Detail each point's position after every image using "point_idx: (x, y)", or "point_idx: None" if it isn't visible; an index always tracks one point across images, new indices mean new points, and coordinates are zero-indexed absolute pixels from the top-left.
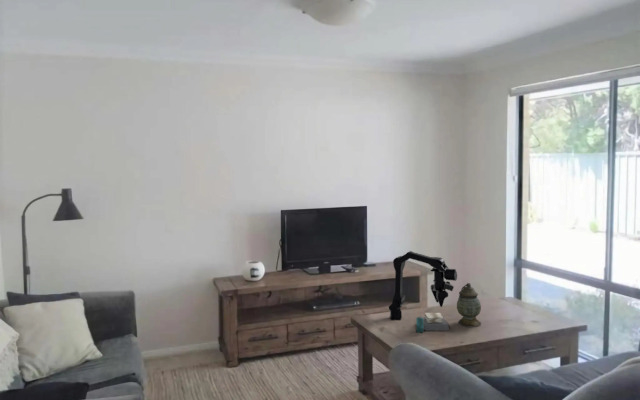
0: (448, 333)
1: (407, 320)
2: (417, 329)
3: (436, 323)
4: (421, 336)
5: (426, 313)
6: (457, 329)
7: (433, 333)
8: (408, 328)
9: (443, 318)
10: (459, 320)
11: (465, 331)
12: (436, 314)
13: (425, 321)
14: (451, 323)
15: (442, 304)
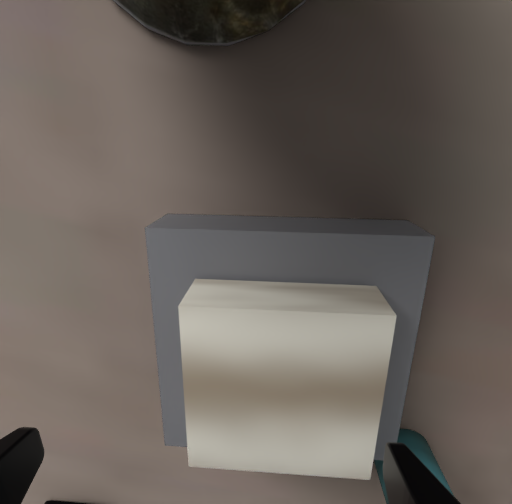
0: (502, 244)
1: (128, 471)
2: None
3: None
4: (507, 463)
5: (206, 456)
6: (405, 115)
7: (464, 369)
8: (311, 500)
9: (212, 239)
10: (159, 10)
11: (493, 33)
12: (251, 363)
13: None
14: (202, 131)
15: (448, 499)
